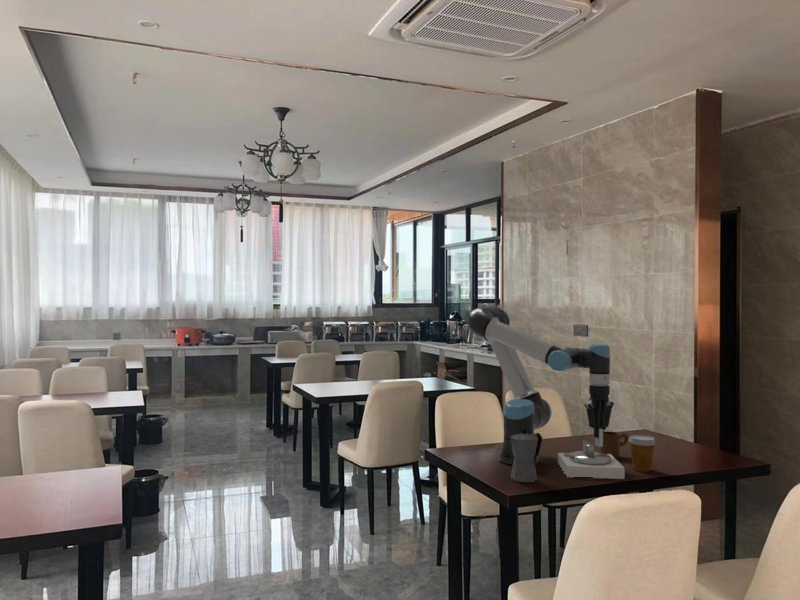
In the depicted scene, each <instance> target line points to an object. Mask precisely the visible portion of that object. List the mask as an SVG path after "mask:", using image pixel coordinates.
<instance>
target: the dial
mask: <svg viewBox="0 0 800 600" xmlns="http://www.w3.org/2000/svg"><path fill="white" fill-rule="evenodd" d="M568 453H569V459H570V460H571V461H573V462H577V463H581V464H588V465H604V464H609V463H610V462H611V457H610V456H609V455H607V454H604V453H600V451H599V452H597V451H595V444H592V443H591V442H590V441H589V440H588V439H583V440H582V450H579V451H578V450H577V451H570V452H568Z"/></svg>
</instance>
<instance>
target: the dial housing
mask: <svg viewBox="0 0 800 600" xmlns="http://www.w3.org/2000/svg"><path fill="white" fill-rule="evenodd" d="M569 453H570V452H557V464H558V465H560V466H559V467H560V468H562V469H561V470H562V472H563V471H564V472H563V473H564V475H565V474H566V475H567V476H566V475H565V476H566V478H574V477H593V478H592V479H606V478H607V479H611V480H612V479H614V480H625V477H626V476H625V473H626V472H625V470H626V469H625V467H624V466H623V465H622V464H621V463H620V461H618V459H617V458H614V457H613V456H612V455H611V454H607V455H609V456H610V457H611V462H610V463H609V464H604V465H588V464H581V463H577V462H573V461H571V460H570V459H569Z"/></svg>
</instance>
